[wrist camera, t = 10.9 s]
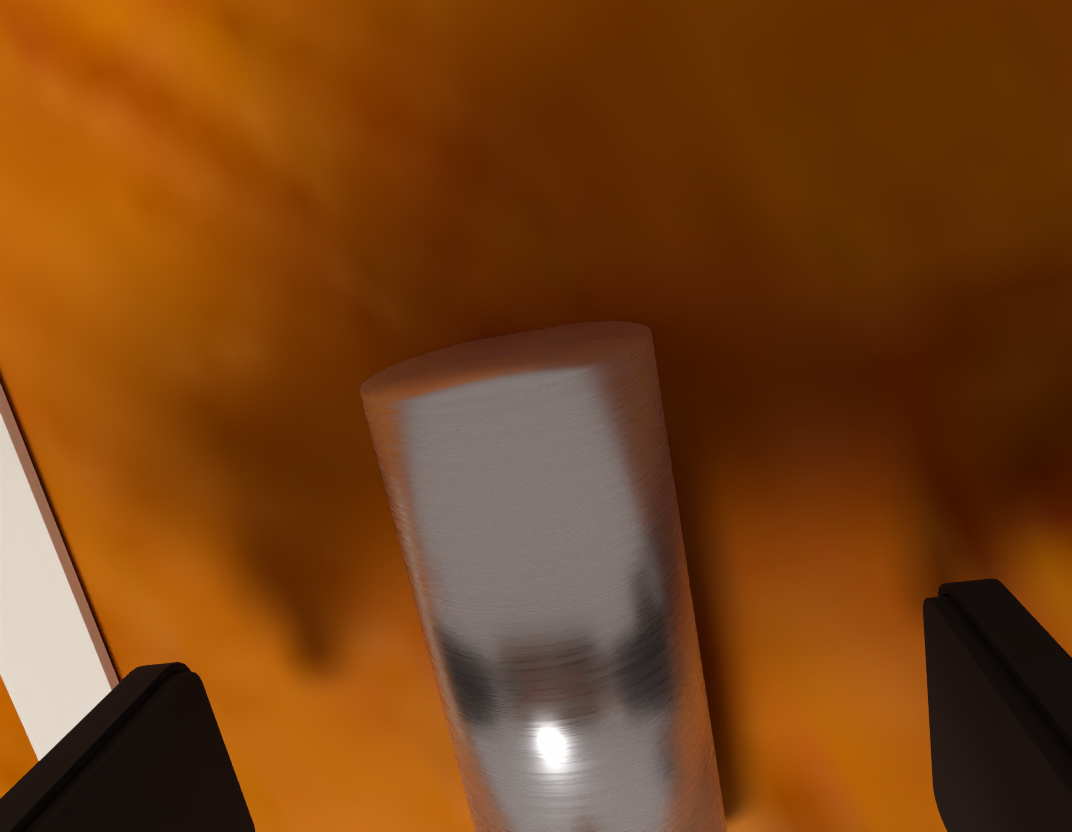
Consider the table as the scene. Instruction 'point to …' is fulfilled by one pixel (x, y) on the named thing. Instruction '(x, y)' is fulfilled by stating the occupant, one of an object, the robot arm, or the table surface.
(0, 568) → the strip
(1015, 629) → the robot arm
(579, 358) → the roller
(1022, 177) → the table surface
